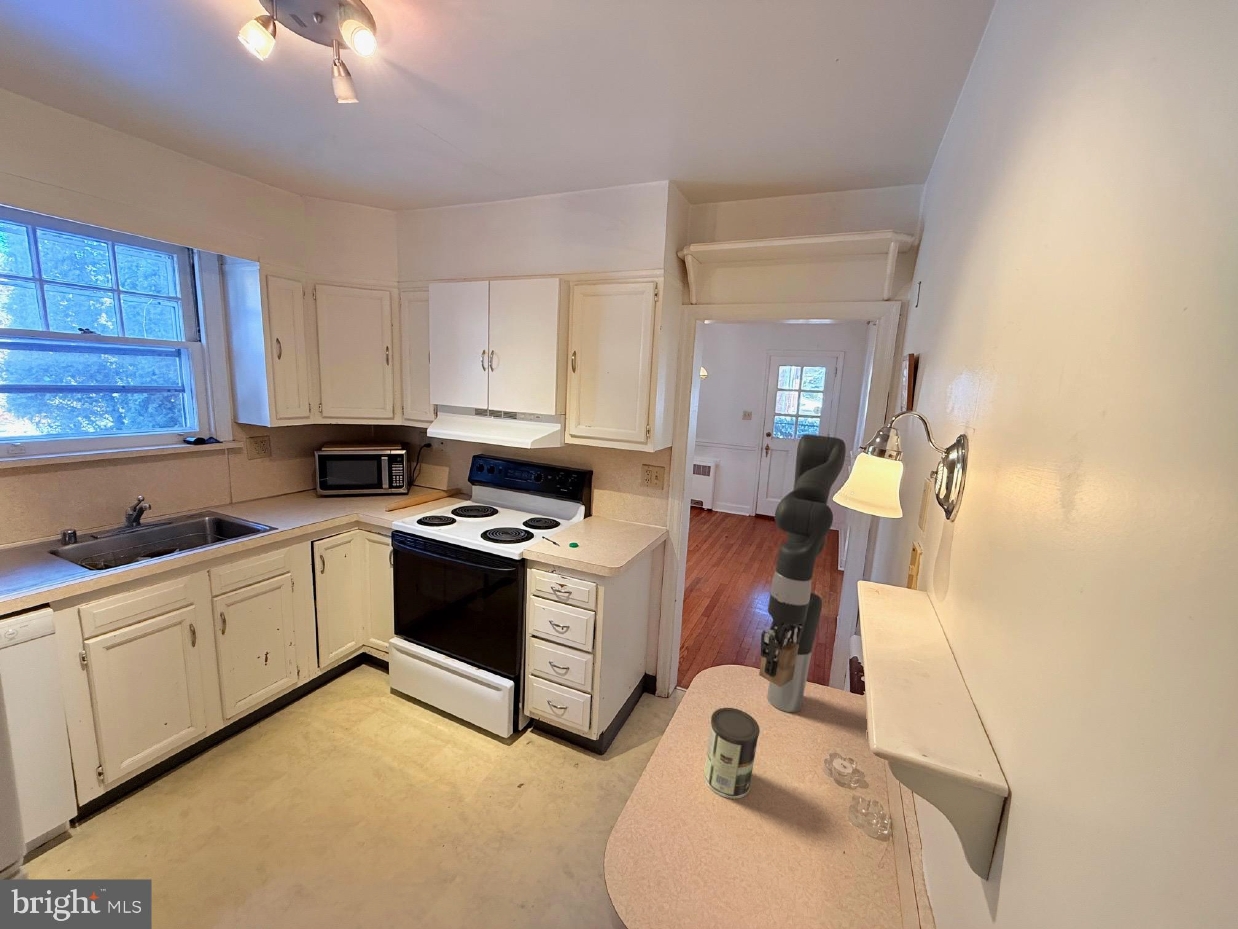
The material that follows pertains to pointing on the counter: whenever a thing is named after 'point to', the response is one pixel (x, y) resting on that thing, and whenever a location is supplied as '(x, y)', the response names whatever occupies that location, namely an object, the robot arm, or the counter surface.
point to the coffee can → (731, 752)
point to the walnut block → (782, 665)
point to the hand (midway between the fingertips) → (776, 670)
